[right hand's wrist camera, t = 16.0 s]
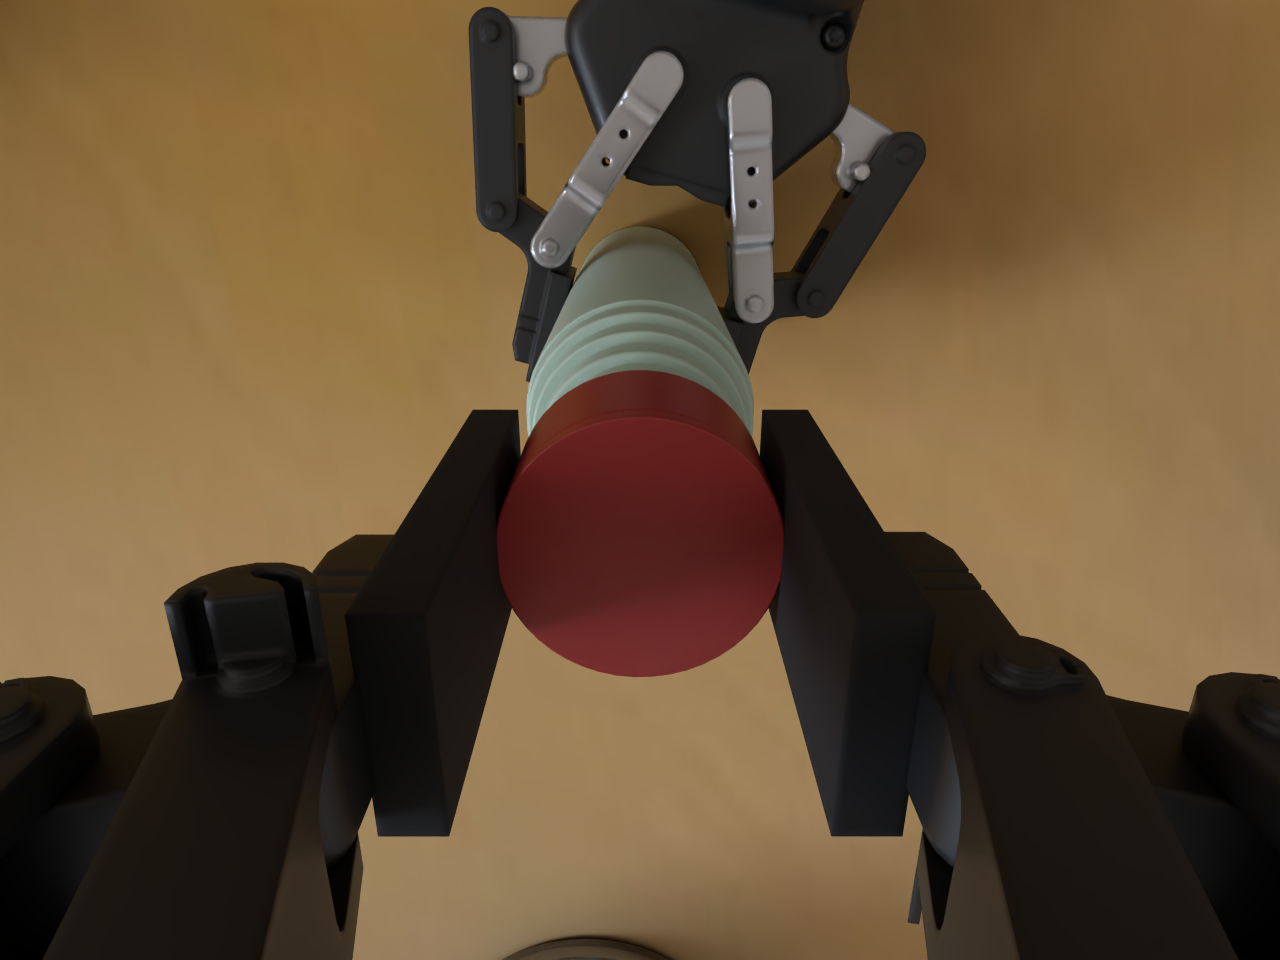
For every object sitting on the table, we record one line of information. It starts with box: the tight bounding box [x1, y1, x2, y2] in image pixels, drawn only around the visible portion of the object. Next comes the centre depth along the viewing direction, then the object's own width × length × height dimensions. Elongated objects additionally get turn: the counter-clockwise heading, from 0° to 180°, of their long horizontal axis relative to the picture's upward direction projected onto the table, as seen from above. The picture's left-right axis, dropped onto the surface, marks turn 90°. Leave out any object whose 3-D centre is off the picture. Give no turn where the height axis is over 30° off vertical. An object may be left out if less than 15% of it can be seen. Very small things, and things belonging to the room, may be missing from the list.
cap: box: [496, 370, 784, 677], centre depth 13 cm, size 4×4×3 cm
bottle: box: [527, 226, 754, 437], centre depth 23 cm, size 5×5×23 cm
